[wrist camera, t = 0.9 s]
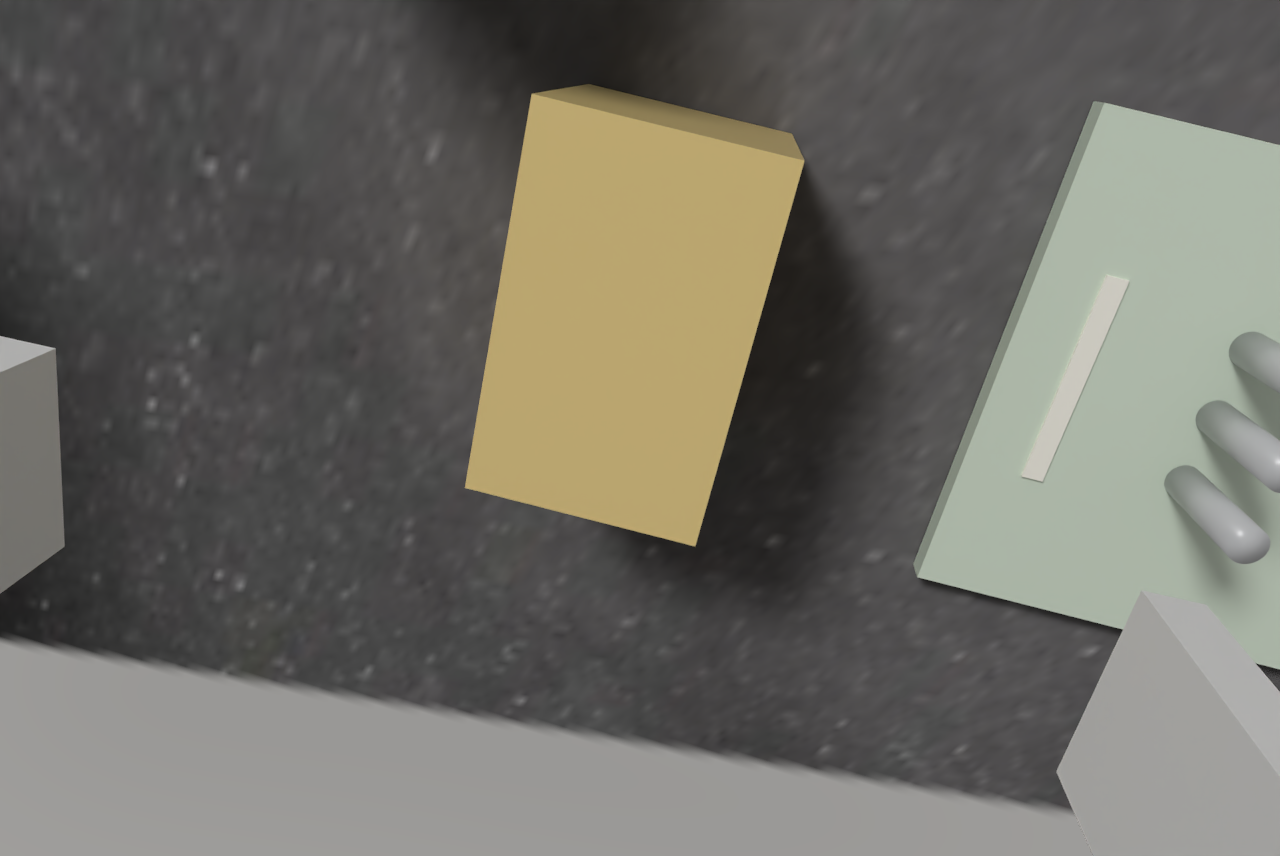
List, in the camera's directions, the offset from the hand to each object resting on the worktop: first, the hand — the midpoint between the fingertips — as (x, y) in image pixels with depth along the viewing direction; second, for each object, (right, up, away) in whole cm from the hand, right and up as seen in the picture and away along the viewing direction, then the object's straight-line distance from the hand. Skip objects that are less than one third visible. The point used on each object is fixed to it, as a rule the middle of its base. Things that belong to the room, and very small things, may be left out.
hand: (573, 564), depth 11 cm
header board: (+17, +2, +15) cm, 23 cm away
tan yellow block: (+1, +6, +16) cm, 17 cm away
